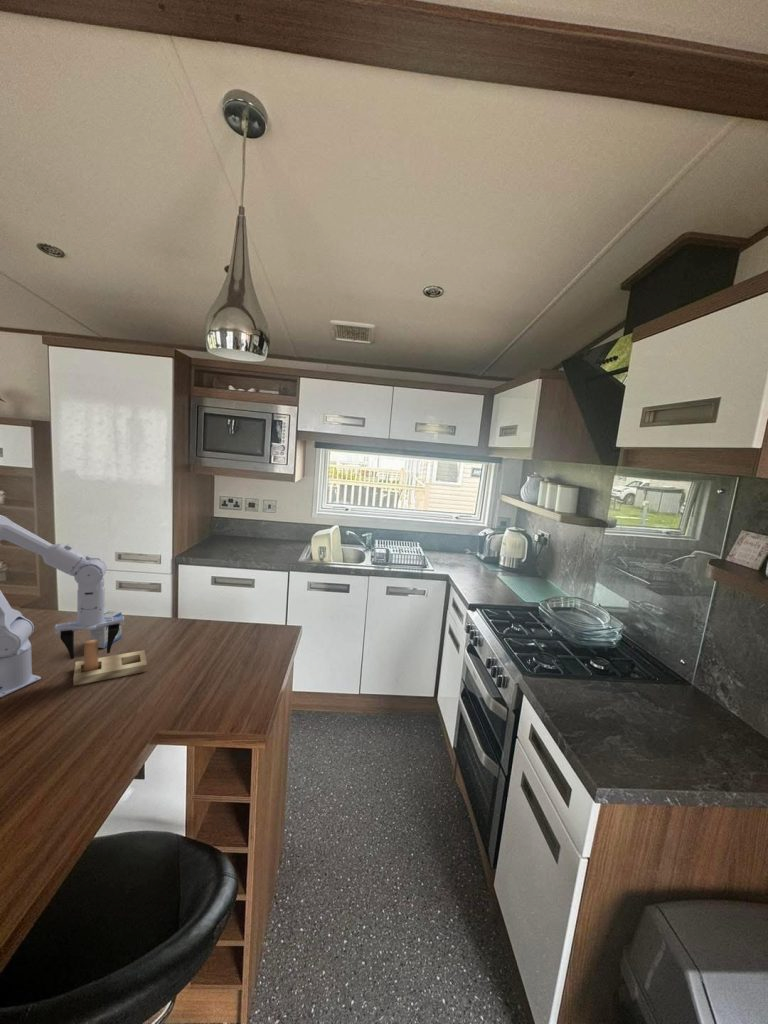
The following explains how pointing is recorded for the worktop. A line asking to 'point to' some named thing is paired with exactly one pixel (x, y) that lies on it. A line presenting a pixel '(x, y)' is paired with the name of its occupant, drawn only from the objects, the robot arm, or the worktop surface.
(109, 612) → the medicine box
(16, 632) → the robot arm
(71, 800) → the worktop surface
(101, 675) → the hole block
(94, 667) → the peg
